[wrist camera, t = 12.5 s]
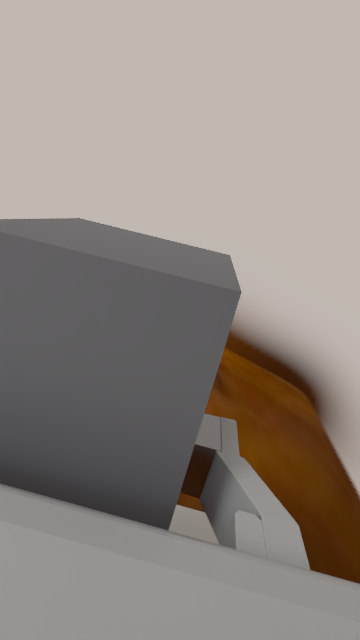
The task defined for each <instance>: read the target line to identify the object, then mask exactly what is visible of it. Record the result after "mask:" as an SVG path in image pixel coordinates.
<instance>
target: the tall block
mask: <svg viewBox="0 0 360 640" xmlns="http://www.w3.org/2000/svg"><path fill="white" fill-rule="evenodd" d="M240 295H241V290H240V286H239V283H238V280H237V277H236V273H235V270H234V267H233V264H232V261H231V258H230V255H226V254H222V253H218V252H214V251H210V250H206V249H201V248H198V247H193V246H189V245H186V244H181V243H177V242H173V241H169V240H165V239H161V238H157V237H153V236H149V235H145V234H141V233H137V232H133V231H128V230H125V229H120V228H116V227H112V226H108V225H104V224H100V223H96V222H92V221H88V220H84V219H80V218H71V219H1V220H0V483H1V484H4V485H8V486H11V487H15V488H19V489H22V490H26V491H29V492H33V493H37V494H40V495H44V496H47V497H51V498H55V499H58V500H62V501H65V502H69V503H73V504H76V505H80V506H83V507H87V508H90V509H94V510H97V511H101V512H105V513H108V514H112V515H115V516H119V517H122V518H126V519H129V520H133V521H136V522H140V523H144V524H147V525H151V526H154V527H158V528H161V529H165V530H169V527H170V524H171V521H172V517H173V514H174V511H175V507H176V504H177V501H178V498H179V494H180V491H181V488H182V485H183V481H184V478H185V475H186V471H187V468H188V465H189V462H190V458H191V455H192V452H193V449H194V445H195V442H196V439H197V435H198V432H199V429H200V426H201V422H202V419H203V416H204V413H205V409H206V406H207V403H208V399H209V396H210V393H211V390H212V386H213V383H214V380H215V377H216V373H217V370H218V367H219V363H220V360H221V357H222V354H223V350H224V347H225V344H226V341H227V337H228V334H229V331H230V327H231V324H232V321H233V318H234V314H235V311H236V308H237V305H238V301H239V298H240Z"/></svg>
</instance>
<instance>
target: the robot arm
mask: <svg viewBox="0 0 360 640" xmlns="http://www.w3.org/2000/svg"><path fill="white" fill-rule="evenodd" d="M180 492H181V493H184V494H187V495H191V496H194V497H197V498H200V502H201V504H202V506H203V508H204V511H205V513H206V515H207V517H208V520H209V522H210V524H211V526H212V529H213V531H214V533H215V535H216V538H217V540H218V542H219V544H220V545H219V544H215V543H212V542H208V541H204V540H201V539H197V538H193V537H190V536H186V535H183V534H179V533H175V532H172V531H168V530H165V529H161V528H158V527H154V526H151V525H147V524H144V523H140V522H136V521H133V520H129V519H126V518H122V517H119V516H115V515H112V514H108V513H105V512H101V511H97V510H94V509H90V508H87V507H83V506H80V505H76V504H73V503H69V502H65V501H62V500H58V499H55V498H51V497H47V496H44V495H40V494H37V493H33V492H29V491H26V490H22V489H19V488H15V487H11V486H8V485H4V484H1V483H0V640H360V584H359V583H355V582H351V581H348V580H344V579H341V578H337V577H334V576H330V575H326V574H323V573H319V572H316V571H312V570H310V567H309V563H308V559H307V555H306V551H305V547H304V544H303V540H302V536H301V532H300V528H299V525H298V524H297V523H296V521H295V520H294V519H293V518H292V516H291V515H290V514H289V513H288V512H287V510H286V509H285V508H284V507H283V505H282V504H281V503H280V502H279V500H278V499H277V498H276V497H275V495H274V494H273V493H272V492H271V490H270V489H269V488H268V487H267V486H266V484H265V483H264V482H263V481H262V479H261V478H260V477H259V476H258V474H257V473H256V472H255V471H254V469H253V468H252V467H251V466H250V464H249V463H248V462H247V461H246V460H245V458H243V457H240V455H239V445H238V435H237V425H236V421H235V420H232V419H227V418H223V417H217V416H213V415H209V414H205V413H204V416H203V419H202V422H201V426H200V429H199V432H198V435H197V439H196V442H195V445H194V449H193V452H192V455H191V458H190V462H189V465H188V468H187V471H186V475H185V478H184V481H183V485H182V488H181V491H180Z"/></svg>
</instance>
